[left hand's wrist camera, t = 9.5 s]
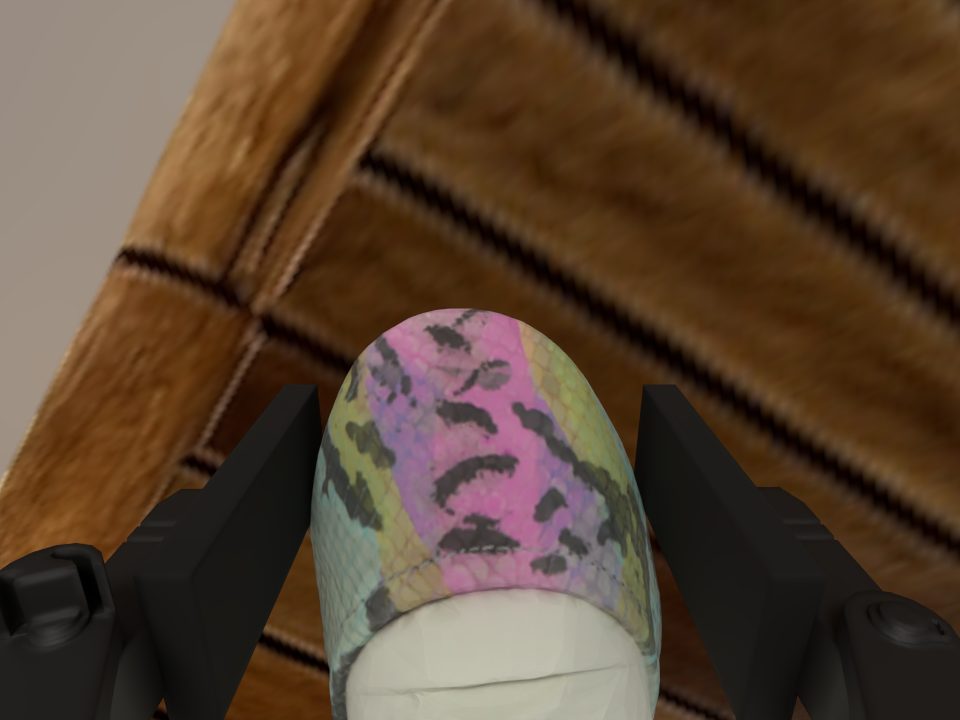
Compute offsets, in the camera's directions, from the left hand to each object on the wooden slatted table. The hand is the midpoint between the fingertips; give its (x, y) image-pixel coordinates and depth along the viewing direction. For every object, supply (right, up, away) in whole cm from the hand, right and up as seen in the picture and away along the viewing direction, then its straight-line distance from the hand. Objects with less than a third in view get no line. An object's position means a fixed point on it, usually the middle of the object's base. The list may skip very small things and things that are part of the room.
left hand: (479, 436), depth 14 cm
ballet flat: (0, -8, +4) cm, 9 cm away
